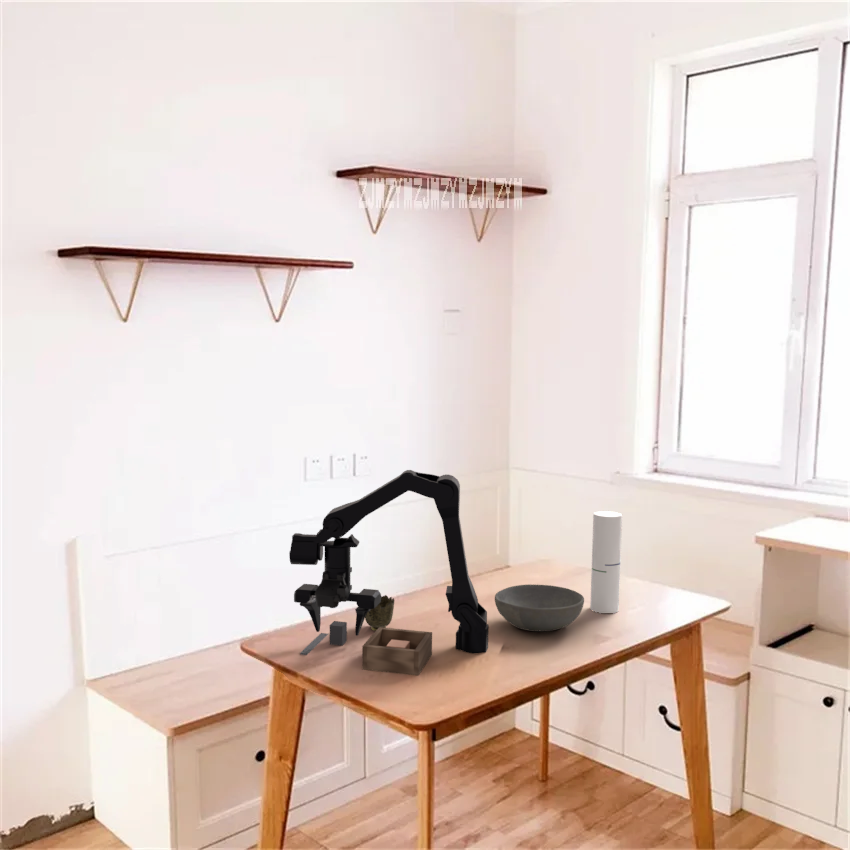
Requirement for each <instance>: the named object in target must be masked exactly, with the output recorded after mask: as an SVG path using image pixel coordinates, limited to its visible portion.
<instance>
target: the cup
mask: <svg viewBox="0 0 850 850" xmlns="http://www.w3.org/2000/svg"><path fill="white" fill-rule="evenodd" d="M394 607H395V598H393V597H392V596H391V597H389V596H388V595H387V594H385V595H381V602H380V603H379V604H378V605H377V606H376V607H375V608H374V609H371V610H370V611H369V612H367V614H366V616H365V619H364V621H365V622H366V624H367V625H368V626H370V630H372V631H374V632H375V631H376V630H377V629H378V628H379V627H383V628H387V627H388V626H389V625H390V624H391V622H392V620H393V615H394Z"/></svg>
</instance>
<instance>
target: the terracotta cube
mask: <svg viewBox="0 0 850 850" xmlns="http://www.w3.org/2000/svg"><path fill="white" fill-rule="evenodd" d="M386 647H394V648H404V649H410V641H402V640H391V641H390V642H389V643H388V645H387V646H386Z"/></svg>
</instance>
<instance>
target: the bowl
mask: <svg viewBox="0 0 850 850" xmlns="http://www.w3.org/2000/svg"><path fill="white" fill-rule="evenodd" d="M494 603H495V606H496V609H497V611H498V613H499V614H500V615H501V616H502V617H503V619H504V620H505V621H507V622H508V623H509V624H510V625H512V626H514V627H516V628H518V629H521V630H525V631H529V632H531V631H532V632H550V631H556V630H560V629H562V628H564V627H565V628H566V627H567V626H569V625H571V624H572V623H573V622H574V621H575V620H576V619H577V618H578V617H579V615H580V614H581V612H582V610H583V607H584V604H585V598H584V596H583V595H582V593H579V592H577V591H575V590H574V589H569V588H566V587H562V586H555V585H549V584H548V585H547V584H518V585H513V586H510V587H506V588H503V589H501V590H499V591H497V593H496V594H495V595H494Z"/></svg>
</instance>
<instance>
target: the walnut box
mask: <svg viewBox="0 0 850 850" xmlns="http://www.w3.org/2000/svg"><path fill="white" fill-rule="evenodd" d="M391 640H402V641H410V649H404V648H394V647H386V646H387V645H388V643H389V642H390V641H391ZM361 647H362V649H361V650H362V651H361V653H362V655H361V656H362V657H361V658H362V659H361V666H362V669H361V670H363V671H372V672H381V673H388V674H389V673H391V674H399V675H409V676H416V677H417V676H418V677H419V676H420V675H421V672H422V671H423V669H424V668H425V666H426V665H427V663H428V662H429V660H430V658H431V657H432V655H433V632H432V631H424V630H412V629H403V628H401V629H400V628H390V627H386V628H383V627H379V628H378V629H377V630H376V631H374V632H373V633H372V634H371V636H370V637H369V638H368V639H367V640H366V641H365V642H364V644H363V645H362V646H361Z"/></svg>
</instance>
